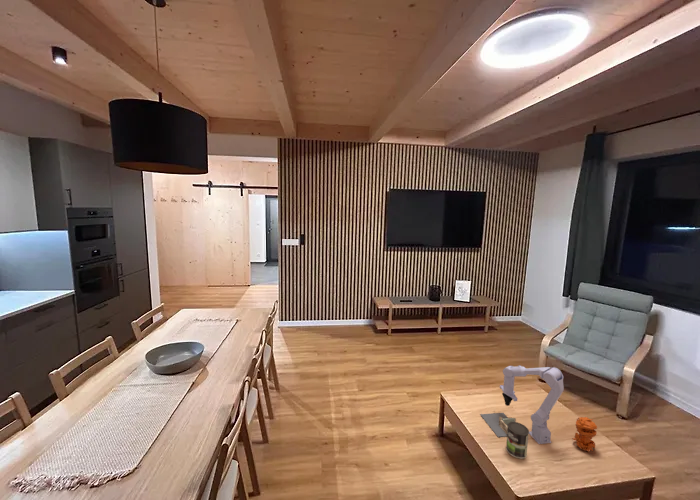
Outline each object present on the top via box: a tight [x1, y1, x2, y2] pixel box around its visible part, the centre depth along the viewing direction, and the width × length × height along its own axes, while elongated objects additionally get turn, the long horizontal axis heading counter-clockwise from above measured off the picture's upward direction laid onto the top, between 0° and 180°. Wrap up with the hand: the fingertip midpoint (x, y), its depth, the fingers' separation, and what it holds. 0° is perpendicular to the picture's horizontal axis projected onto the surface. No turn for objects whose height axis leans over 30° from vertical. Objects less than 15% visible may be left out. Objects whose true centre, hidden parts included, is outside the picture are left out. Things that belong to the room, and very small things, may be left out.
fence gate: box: [502, 417, 517, 425], centre depth 189 cm, size 9×1×4 cm, turn 95°
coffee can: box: [505, 421, 530, 460], centre depth 168 cm, size 10×10×14 cm
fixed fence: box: [499, 417, 508, 433], centre depth 184 cm, size 10×2×5 cm, turn 6°
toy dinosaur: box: [572, 416, 598, 452], centre depth 170 cm, size 11×11×18 cm
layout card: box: [480, 412, 509, 438], centre depth 190 cm, size 20×16×1 cm
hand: (507, 405), depth 194 cm, fingers closed
